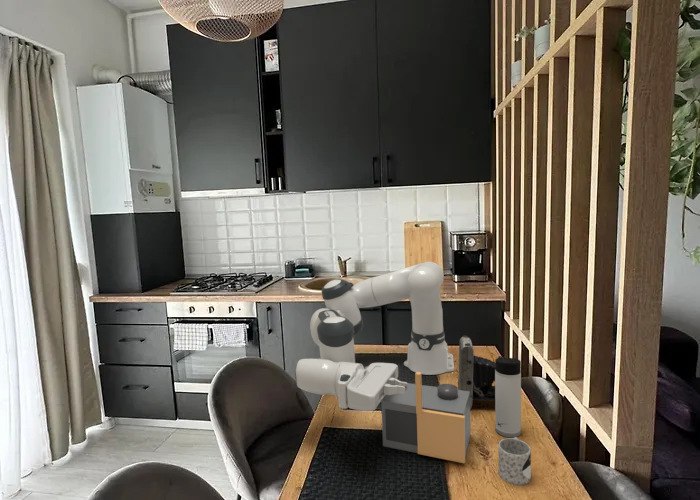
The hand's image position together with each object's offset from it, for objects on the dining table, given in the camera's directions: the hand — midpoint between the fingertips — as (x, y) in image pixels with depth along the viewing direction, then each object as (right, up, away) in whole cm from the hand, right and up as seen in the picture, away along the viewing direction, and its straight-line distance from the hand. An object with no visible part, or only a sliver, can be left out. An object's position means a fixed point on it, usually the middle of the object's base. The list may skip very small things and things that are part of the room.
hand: (406, 388), depth 98 cm
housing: (+6, -16, +7) cm, 19 cm away
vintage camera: (+27, -13, +25) cm, 40 cm away
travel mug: (+28, -15, +10) cm, 33 cm away
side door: (+8, -16, -1) cm, 18 cm away
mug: (+24, -17, -6) cm, 30 cm away
